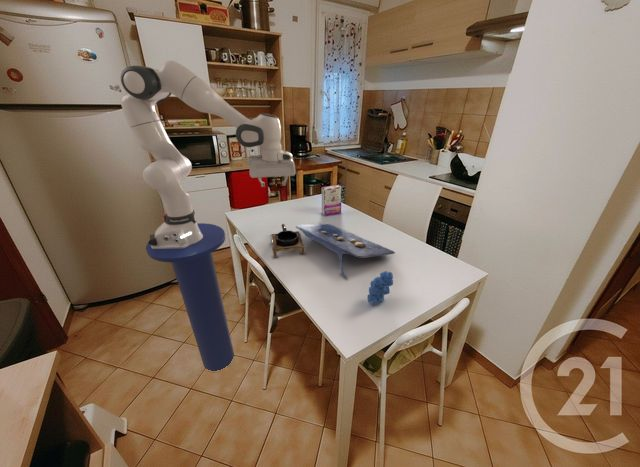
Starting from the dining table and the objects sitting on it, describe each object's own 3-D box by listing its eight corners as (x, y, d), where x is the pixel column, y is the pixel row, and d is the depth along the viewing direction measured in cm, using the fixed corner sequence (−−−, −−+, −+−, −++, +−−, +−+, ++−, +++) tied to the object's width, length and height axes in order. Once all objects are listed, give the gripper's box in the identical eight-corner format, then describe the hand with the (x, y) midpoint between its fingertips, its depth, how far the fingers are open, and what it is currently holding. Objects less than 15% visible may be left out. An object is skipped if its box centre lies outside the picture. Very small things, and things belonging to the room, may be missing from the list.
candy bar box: (337, 210, 163) (338, 184, 155) (341, 213, 159) (342, 187, 151) (321, 212, 159) (321, 186, 151) (324, 216, 155) (324, 189, 147)
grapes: (380, 288, 97) (383, 261, 91) (394, 298, 92) (400, 270, 87) (358, 301, 91) (360, 273, 85) (372, 313, 86) (376, 284, 80)
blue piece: (286, 244, 130) (290, 222, 127) (326, 241, 149) (330, 221, 146) (354, 283, 99) (360, 254, 96) (393, 272, 117) (400, 248, 114)
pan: (277, 248, 114) (276, 242, 113) (273, 229, 130) (272, 224, 129) (300, 245, 116) (299, 239, 115) (293, 227, 132) (293, 222, 131)
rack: (273, 258, 114) (272, 248, 112) (270, 243, 126) (270, 234, 124) (305, 254, 117) (304, 245, 115) (299, 239, 129) (299, 230, 127)
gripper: (246, 157, 108) (250, 189, 114) (295, 155, 113) (296, 186, 119) (246, 154, 113) (250, 185, 120) (293, 152, 118) (294, 182, 124)
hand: (273, 185), depth 119 cm, fingers open, 8 cm apart
